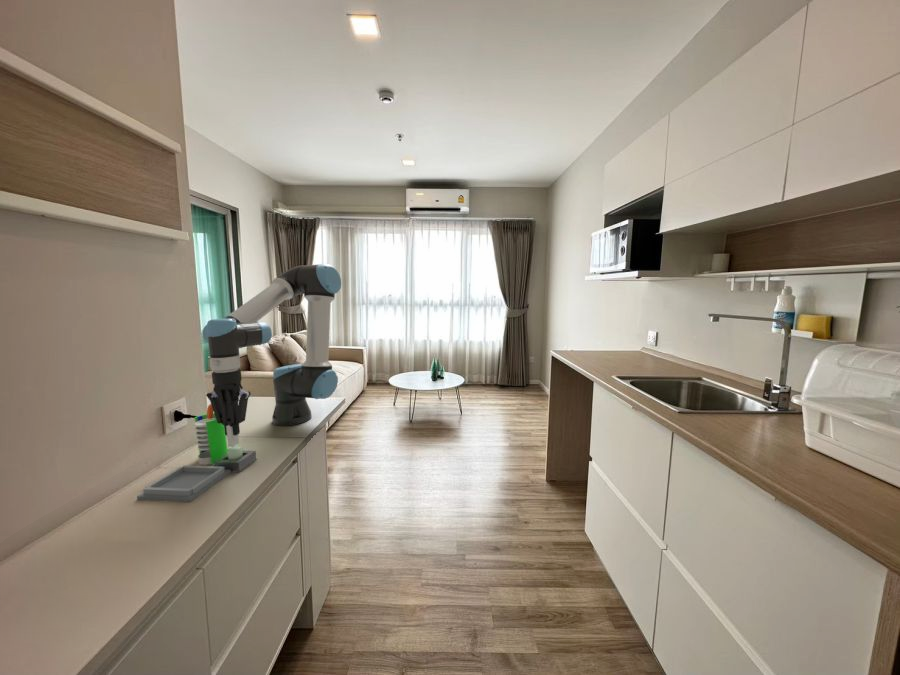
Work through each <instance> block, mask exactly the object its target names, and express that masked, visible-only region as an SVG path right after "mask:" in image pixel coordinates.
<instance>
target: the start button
mask: <svg viewBox="0 0 900 675" xmlns="http://www.w3.org/2000/svg"><path fill="white" fill-rule="evenodd" d="M243 451H244V450H243V446H241V445H235V446H233V447H228V448H227V454H228V460H239V459H240V458H241V457H243Z"/></svg>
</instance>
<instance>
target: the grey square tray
mask: <svg viewBox="0 0 900 675" xmlns="http://www.w3.org/2000/svg"><path fill="white" fill-rule="evenodd" d="M231 473H232V472H231V470H227V469H225V467H217V466H213V465H212V466H211V465H208V466H207V465H183V466H179V467H178V468H175V469H174V470H172V471H171V472H169V473H167V474H166V475H164V476H162V477H160V478H159V479H157V480H155V481H153V482H152V483H150V484H148V485H146V486H145V487H144V488H143V492H141V493H140V494H138V495H137V496H136V498H137V500H138V501H157V502H159V501H160V502H161V501H162V502H163V501H164V502H184V503H190V502H192V501H193V500H195V499H197V498H198V497H199V496H201V495H202V494H203V493H204V492H206V491H207V490H209V489H210V488H212V487H213V486H214V485H216V484H217V483H218V482H220V481H222V480H223V479H224V478H226V477H227V476H229V475H230V474H231Z"/></svg>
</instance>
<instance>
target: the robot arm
mask: <svg viewBox="0 0 900 675" xmlns="http://www.w3.org/2000/svg"><path fill="white" fill-rule="evenodd" d="M341 288H342V279H341V275H340V273H339V272H338V269H336V267H334V266H333V265H331V264H324V263H320V264H308V265H303V264H302V265H296V266H294V267H292V268H290V269H288V270H286V271H284V272H282V273H281V274H279V275H278V276H277V277H275V278H274V279H272V281H271V284H270V285H269V286H268V287H266V288H265V289H263V290H262V291H260V292H258V294H256V295H255V296H253V297H252V298H251V299H249V300H248V301H247V302H245V303H243V304H242V305H241V306H239V307H238V308H236V309H235V310H234V311H232V312H231V313H229V314H228V315H226V316H225V317H224V318H213V319H210V320H208V321H207V322H206V323H207V324H205V325H204V327H203V329H202V334H201V335H202V337H203V339H204V340H205V342H207V343H208V349H209V350H208V352H209V361H210V369H211V371H212V372H211V379H212V384H213V390H211V392H208V393H206V397H207V398H208V401H209V402H210V404H211V405H212V408H213V411H214V412H213V413H214V414H215V417H216V420H217V423H219V424H220V423H221V424H223V425H224V428H225V435H226V439H227V448H231V447H234V446H238V444H239V443H240V440H239V435H240V432H241V431H240V424H241V423H243V422H245V421H246V417H247V416H246V415H247V408H248V402H249V398H250V397H251V394H252V393H251V391H246V390H244V389H243V386H242V370H241V369H240V368H241V357H240V349H242V348H247V347H248V348H249V347H255V346H261V345H264V344H267V343H269V342H270V341H271V339H272V337H273V336H272V335H273V332H272V328H271V326H270V325H269V324H268V323H267V322H266V321H265V322H264V321H260V320H261V319H262V318H264V317H265V316H266V315H268V314H269V313H270V312H271V311H272V310H274V309H275V308H276V307H278V306H279V305H280V304H282V303H284V301H285V300H287V301H288V300H291V299H292V298H294V297H296V296H298V295H303V296H304V299H305V300H307V322H306V323H307V324H306V326H307V327H306V346H305V347H306V351H305V361H304V362H303V363H295V364H290V365H284V366H281V367H277V368H275V369H273V373H272V375H273V378H272V380H273V390H274V399H275V405H274V409H273V414H272V420H271V421H272V424H273V425H275V426H278V427H279V426H281V427H282V426H283V427H284V426H285V427H286V426H294V425H298V424H303V423H305V422H307V421H309V420H310V419H312V410H311V408H310V406H309V404H308V402H307V399H315V400H324V399H325V400H326V399H328V398H330V397H331V396H332V395H333V393H335V391H336V390H337V387H338V383H339V377H338V374H337V372H336V371H334V370H333V364H332V363H331V362H330V360H329V358H330V357H329V355H330V354H329V352H330V351H329V350H330V329H331V328H330V324H331V303H332V302H333V301H334V300H335V296H336V295H335V294H337V293H339V292H340V290H341Z"/></svg>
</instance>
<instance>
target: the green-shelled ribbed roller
mask: <svg viewBox="0 0 900 675" xmlns="http://www.w3.org/2000/svg"><path fill="white" fill-rule="evenodd" d="M206 410H207V411H206V413H205V414H201V415H198V416H195V417H194V426H195V432H196V433H195V435H196V440H197V442H196V443H197V450H198V452H199V454H198V456H197V457H198V464H199V465H202V466H206V465H212V466H213V465H214V462H215V461H216V460H218V459H220V458H221V457H223V456H224V455H226V454H227V449H228V441H227V435H225V428H224V425H223V424H221V423H220V424H219V423H217V420H216V417H215V414H214V411H213V408H212V405H211V403H210V404H208V406H207V408H206Z"/></svg>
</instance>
